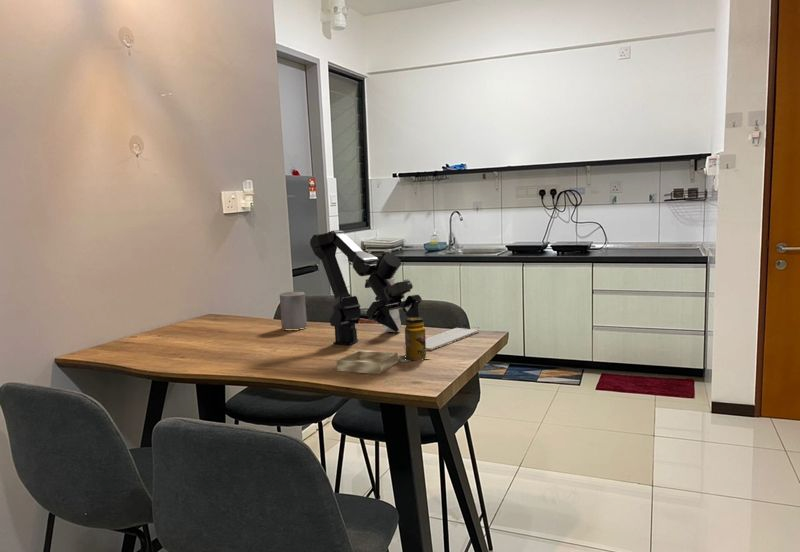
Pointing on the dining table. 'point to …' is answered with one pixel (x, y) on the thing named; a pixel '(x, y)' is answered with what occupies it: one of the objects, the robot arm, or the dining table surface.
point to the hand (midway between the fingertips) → (408, 328)
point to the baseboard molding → (448, 337)
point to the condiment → (414, 340)
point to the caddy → (367, 361)
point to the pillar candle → (293, 310)
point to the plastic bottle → (393, 313)
